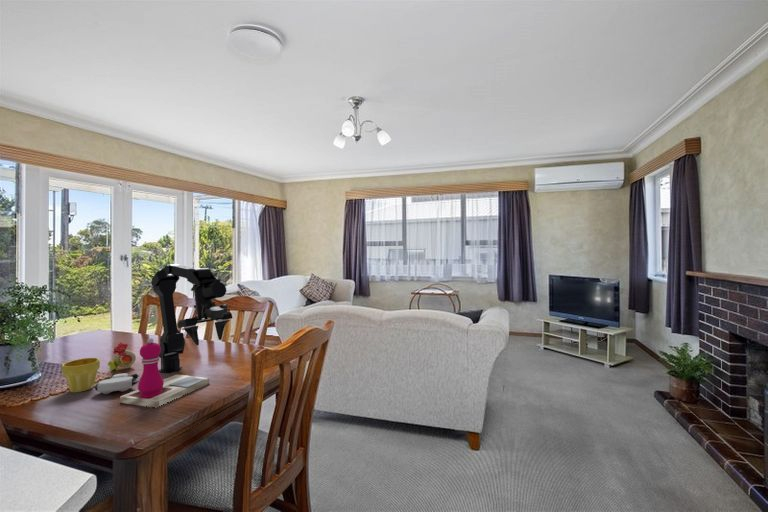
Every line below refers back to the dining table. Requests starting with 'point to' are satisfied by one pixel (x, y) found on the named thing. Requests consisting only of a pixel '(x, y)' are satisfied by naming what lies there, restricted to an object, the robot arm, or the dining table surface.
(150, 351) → the pepper mill
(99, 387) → the robot toy
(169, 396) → the puzzle board
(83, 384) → the plant pot
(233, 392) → the dining table surface
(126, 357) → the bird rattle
